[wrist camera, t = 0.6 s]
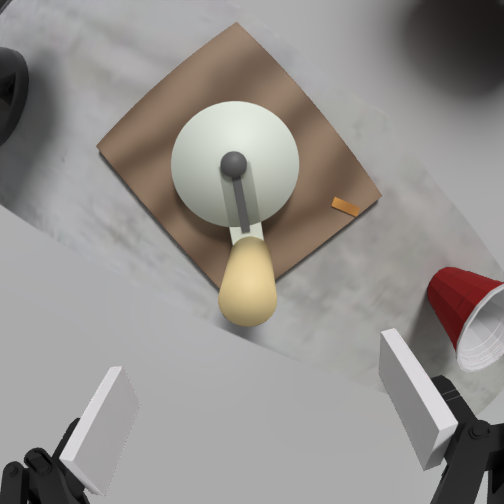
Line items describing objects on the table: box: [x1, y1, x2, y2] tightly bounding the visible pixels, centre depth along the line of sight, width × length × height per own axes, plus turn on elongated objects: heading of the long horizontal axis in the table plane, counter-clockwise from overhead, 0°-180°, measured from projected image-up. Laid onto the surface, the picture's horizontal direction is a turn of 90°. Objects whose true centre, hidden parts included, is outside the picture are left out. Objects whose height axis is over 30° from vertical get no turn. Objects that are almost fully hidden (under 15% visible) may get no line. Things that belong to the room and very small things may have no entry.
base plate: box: [96, 22, 382, 289], centre depth 31 cm, size 24×20×1 cm
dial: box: [171, 101, 299, 327], centre depth 25 cm, size 17×12×12 cm
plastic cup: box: [427, 267, 504, 373], centre depth 29 cm, size 11×11×12 cm
